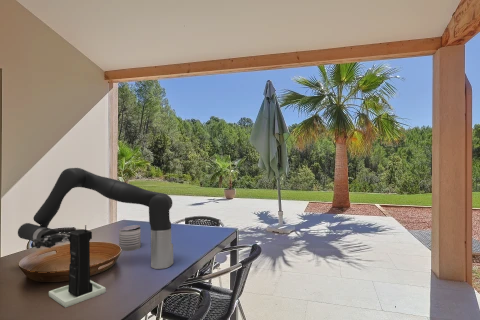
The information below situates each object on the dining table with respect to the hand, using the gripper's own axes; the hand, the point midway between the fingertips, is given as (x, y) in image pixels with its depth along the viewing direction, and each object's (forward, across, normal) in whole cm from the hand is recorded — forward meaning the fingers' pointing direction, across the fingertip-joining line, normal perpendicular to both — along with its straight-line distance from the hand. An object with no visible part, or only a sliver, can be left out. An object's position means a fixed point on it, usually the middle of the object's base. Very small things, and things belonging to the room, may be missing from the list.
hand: (62, 242), depth 118 cm
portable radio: (+13, 0, +17) cm, 21 cm away
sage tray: (+12, 0, +17) cm, 21 cm away
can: (-23, +44, +18) cm, 53 cm away
